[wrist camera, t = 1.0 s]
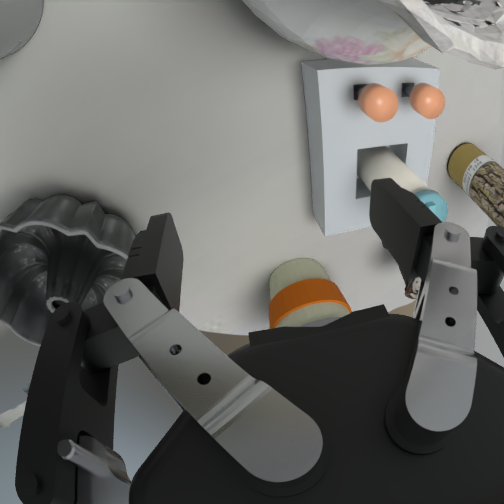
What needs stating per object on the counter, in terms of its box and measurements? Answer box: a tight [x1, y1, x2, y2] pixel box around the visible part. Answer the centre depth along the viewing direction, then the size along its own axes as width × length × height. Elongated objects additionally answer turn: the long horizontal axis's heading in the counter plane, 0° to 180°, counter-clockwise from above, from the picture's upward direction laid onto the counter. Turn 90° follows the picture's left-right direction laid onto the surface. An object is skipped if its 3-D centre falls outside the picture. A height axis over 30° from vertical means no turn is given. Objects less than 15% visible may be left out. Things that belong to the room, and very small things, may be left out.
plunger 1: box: [357, 83, 398, 122], centre depth 24 cm, size 3×3×4 cm
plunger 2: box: [405, 83, 445, 119], centre depth 24 cm, size 3×3×4 cm
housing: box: [301, 58, 440, 237], centre depth 32 cm, size 20×14×5 cm
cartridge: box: [357, 146, 448, 222], centre depth 30 cm, size 6×6×14 cm
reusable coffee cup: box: [269, 258, 352, 329], centre depth 44 cm, size 12×13×15 cm
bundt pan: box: [0, 195, 135, 346], centre depth 36 cm, size 26×26×10 cm
